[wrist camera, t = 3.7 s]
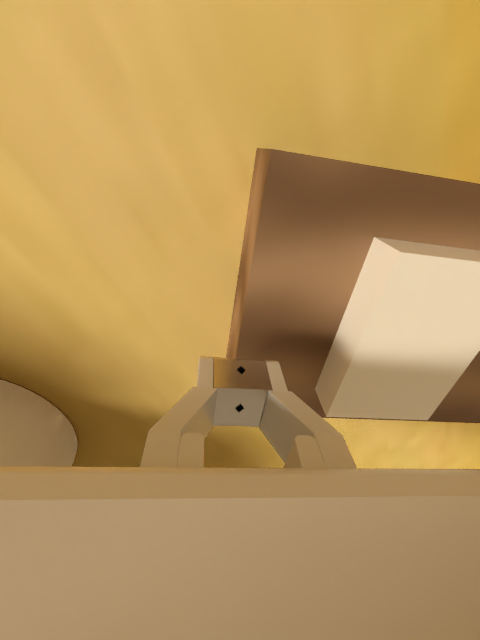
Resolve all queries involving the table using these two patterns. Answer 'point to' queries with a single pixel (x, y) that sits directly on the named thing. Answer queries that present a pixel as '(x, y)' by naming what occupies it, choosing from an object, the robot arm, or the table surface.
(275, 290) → the deck
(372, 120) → the table surface
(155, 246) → the table surface
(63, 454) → the utensil holder
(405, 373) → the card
